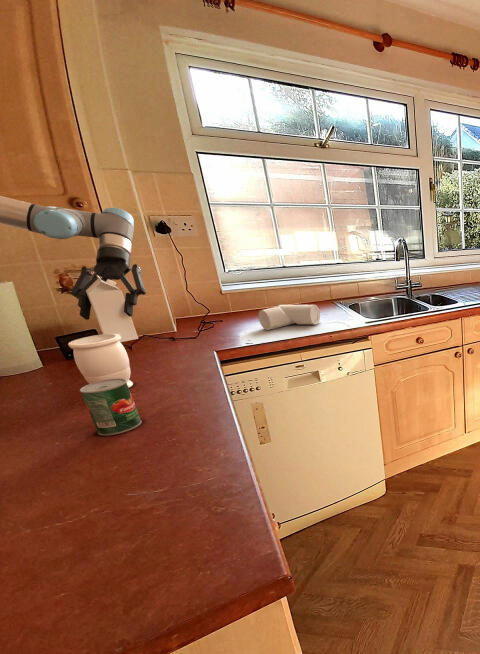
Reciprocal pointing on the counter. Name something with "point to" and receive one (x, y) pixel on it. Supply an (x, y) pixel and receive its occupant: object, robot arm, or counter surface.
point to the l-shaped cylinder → (288, 316)
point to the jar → (101, 358)
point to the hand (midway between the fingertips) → (106, 315)
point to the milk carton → (111, 309)
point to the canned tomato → (111, 406)
